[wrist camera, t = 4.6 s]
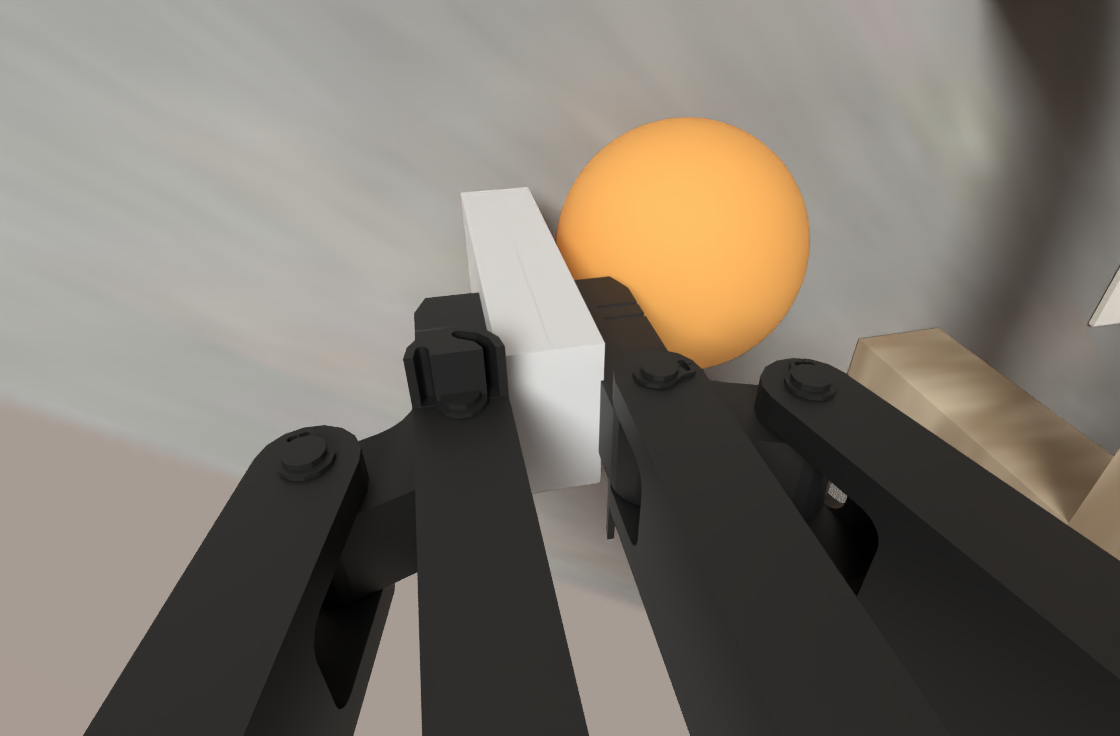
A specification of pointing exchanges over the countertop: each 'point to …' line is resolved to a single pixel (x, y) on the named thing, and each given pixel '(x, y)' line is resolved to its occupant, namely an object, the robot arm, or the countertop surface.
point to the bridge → (996, 427)
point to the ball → (691, 233)
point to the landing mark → (1108, 305)
